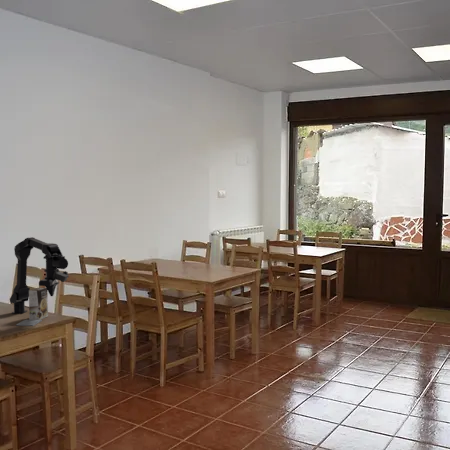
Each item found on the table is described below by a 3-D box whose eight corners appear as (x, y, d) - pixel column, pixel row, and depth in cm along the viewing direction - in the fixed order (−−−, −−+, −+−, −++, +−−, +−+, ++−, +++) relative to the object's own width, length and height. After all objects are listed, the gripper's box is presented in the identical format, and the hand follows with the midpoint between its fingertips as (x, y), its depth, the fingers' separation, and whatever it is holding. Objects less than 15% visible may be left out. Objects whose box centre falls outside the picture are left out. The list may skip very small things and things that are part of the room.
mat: (25, 320, 289) (25, 319, 289) (42, 320, 288) (42, 319, 288) (16, 325, 278) (16, 324, 278) (32, 325, 277) (32, 324, 277)
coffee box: (39, 320, 290) (39, 290, 289) (28, 319, 291) (28, 290, 290) (48, 316, 299) (47, 287, 298) (38, 315, 300) (37, 287, 299)
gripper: (58, 270, 279) (58, 300, 281) (72, 265, 298) (73, 293, 299) (38, 269, 281) (38, 299, 282) (53, 264, 299) (53, 292, 300)
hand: (51, 296), depth 291 cm, fingers closed
